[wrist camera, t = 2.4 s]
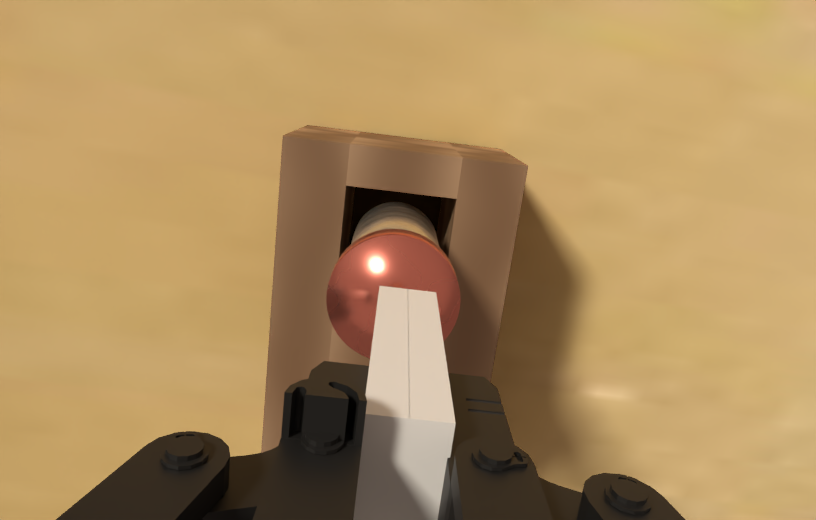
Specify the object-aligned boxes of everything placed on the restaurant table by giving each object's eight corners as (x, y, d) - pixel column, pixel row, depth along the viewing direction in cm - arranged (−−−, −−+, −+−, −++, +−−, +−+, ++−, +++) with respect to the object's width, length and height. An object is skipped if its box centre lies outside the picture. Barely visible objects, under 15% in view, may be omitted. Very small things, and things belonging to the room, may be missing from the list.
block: (283, 436, 36) (257, 515, 30) (307, 125, 32) (282, 135, 25) (451, 452, 37) (463, 535, 30) (501, 149, 32) (528, 165, 25)
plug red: (341, 283, 27) (320, 355, 20) (351, 189, 26) (332, 228, 19) (436, 294, 27) (450, 369, 20) (450, 200, 26) (469, 244, 19)
